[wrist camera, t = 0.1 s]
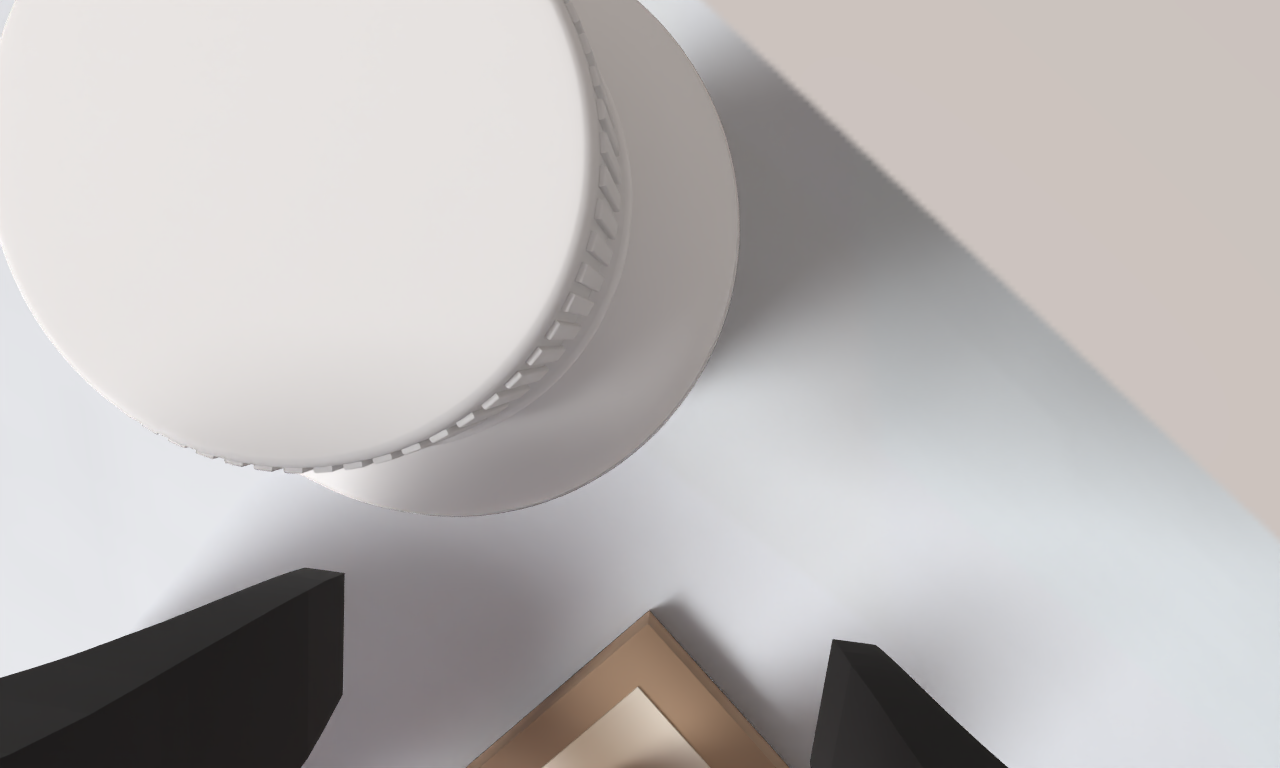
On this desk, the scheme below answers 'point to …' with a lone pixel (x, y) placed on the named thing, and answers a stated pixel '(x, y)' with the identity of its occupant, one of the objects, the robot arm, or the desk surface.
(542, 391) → the pill bottle
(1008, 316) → the desk surface
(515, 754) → the board
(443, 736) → the desk surface
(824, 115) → the desk surface
